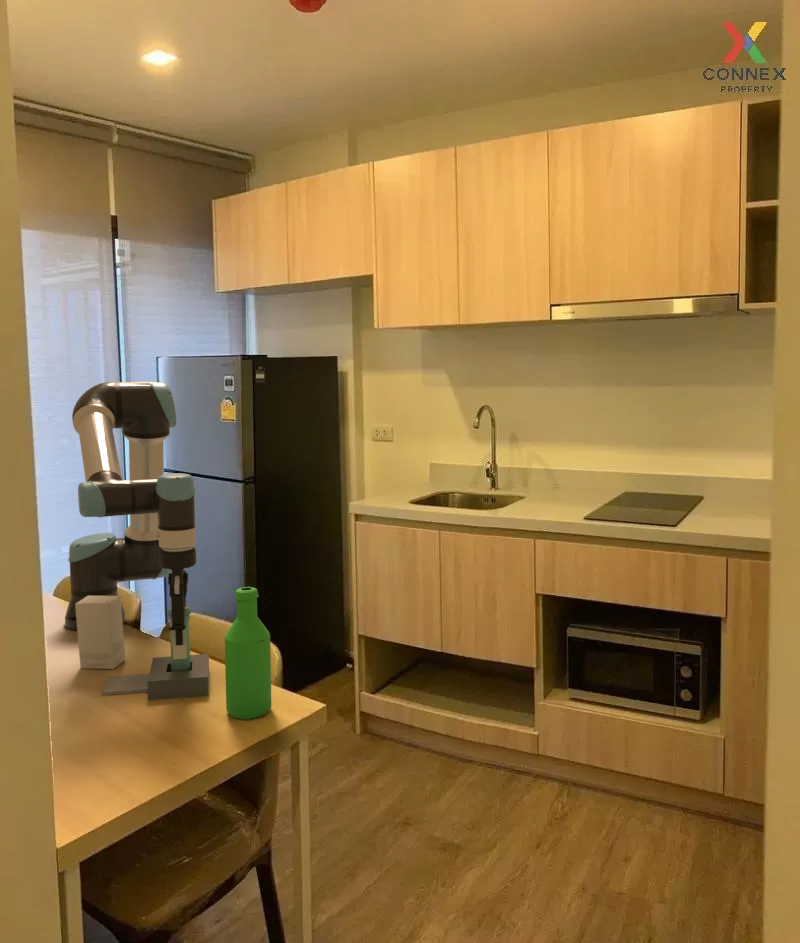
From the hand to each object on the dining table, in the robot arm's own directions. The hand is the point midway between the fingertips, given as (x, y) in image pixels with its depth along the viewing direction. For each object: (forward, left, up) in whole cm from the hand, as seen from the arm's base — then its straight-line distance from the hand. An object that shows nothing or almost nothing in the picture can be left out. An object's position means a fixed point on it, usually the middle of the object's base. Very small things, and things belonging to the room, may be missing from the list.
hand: (180, 654), depth 174 cm
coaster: (-2, -11, -7) cm, 13 cm away
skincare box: (-16, -18, -7) cm, 25 cm away
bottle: (+17, +14, -7) cm, 23 cm away
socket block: (0, 0, -7) cm, 7 cm away
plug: (0, 0, -6) cm, 6 cm away
